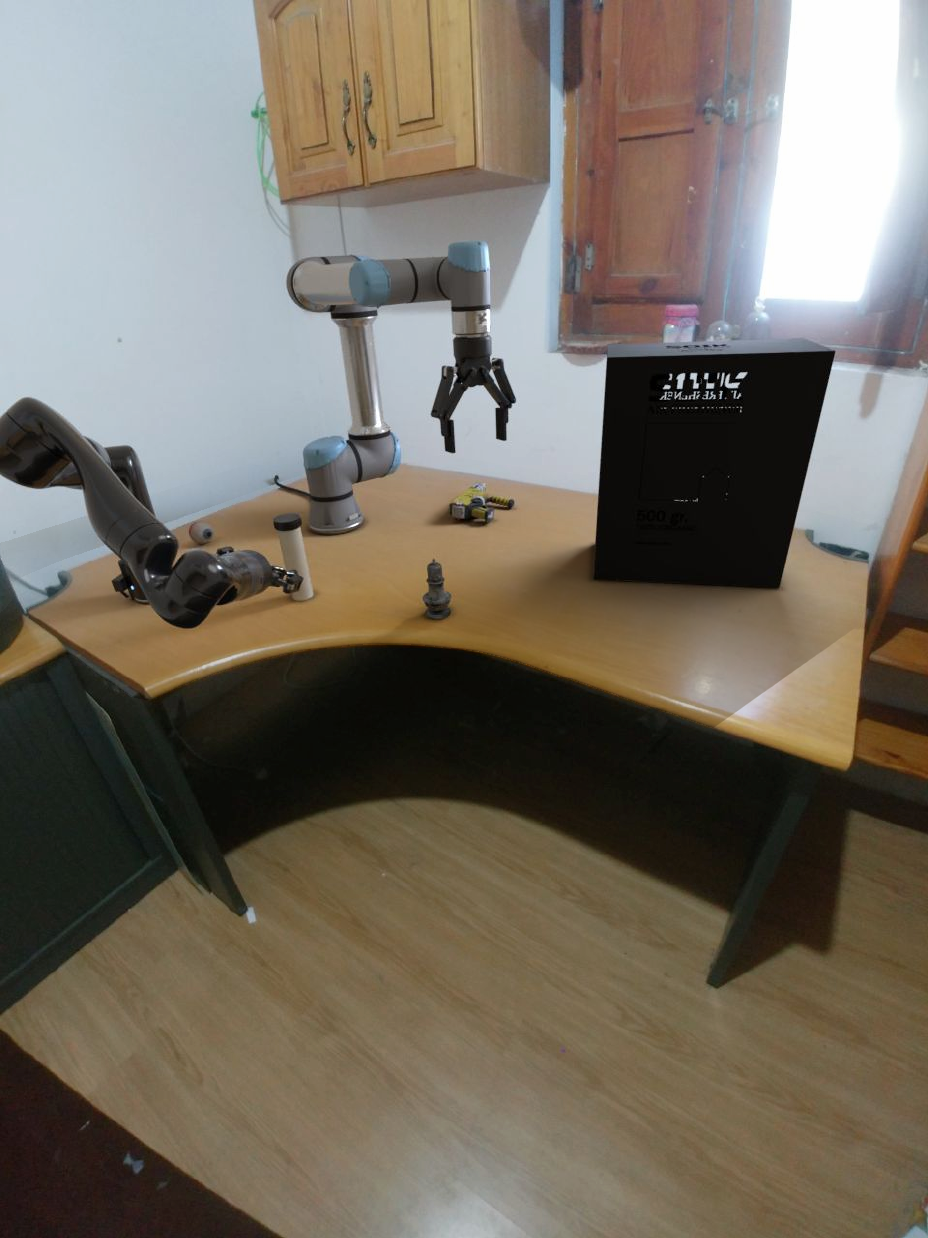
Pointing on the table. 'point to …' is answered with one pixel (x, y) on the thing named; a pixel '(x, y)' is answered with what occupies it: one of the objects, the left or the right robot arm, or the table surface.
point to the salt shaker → (436, 593)
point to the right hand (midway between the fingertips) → (476, 445)
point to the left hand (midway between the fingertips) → (272, 566)
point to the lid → (287, 522)
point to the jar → (296, 561)
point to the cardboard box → (706, 459)
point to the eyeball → (201, 532)
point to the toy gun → (476, 504)
